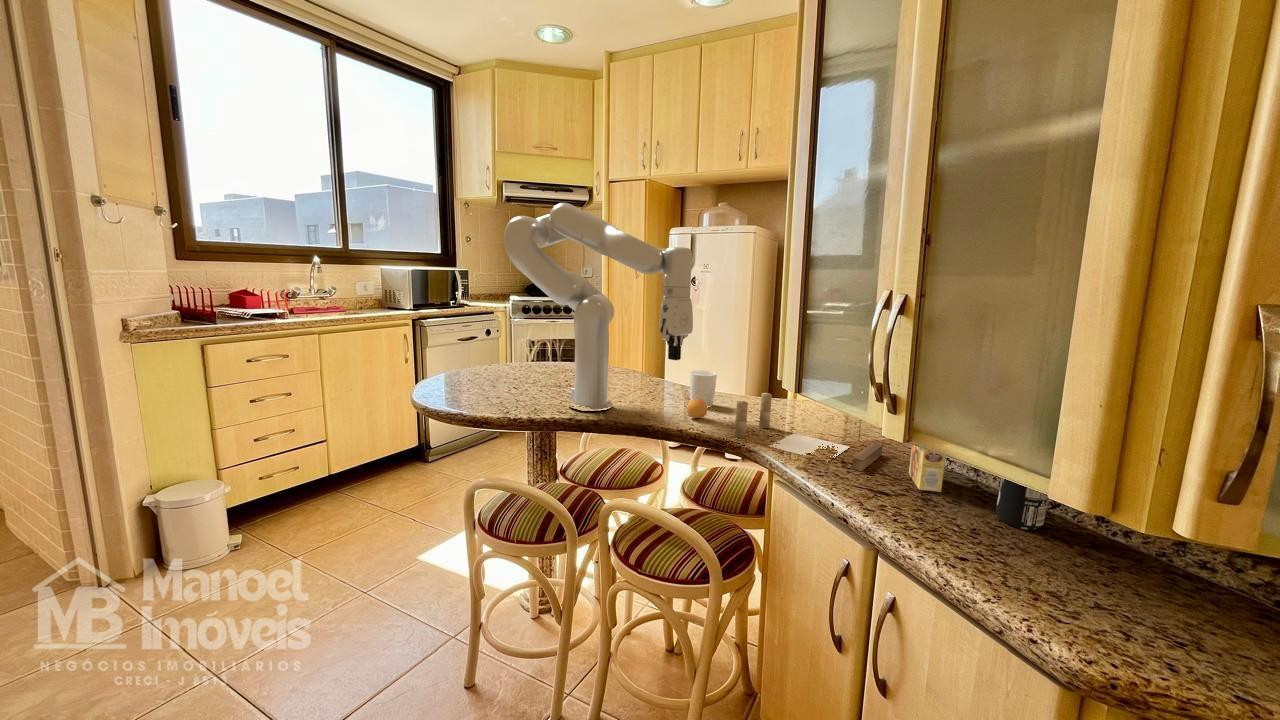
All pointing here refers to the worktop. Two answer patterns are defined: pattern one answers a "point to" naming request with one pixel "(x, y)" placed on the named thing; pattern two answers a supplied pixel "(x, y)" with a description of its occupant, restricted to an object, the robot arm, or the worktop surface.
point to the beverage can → (1020, 506)
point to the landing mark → (806, 445)
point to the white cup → (703, 386)
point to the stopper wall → (867, 456)
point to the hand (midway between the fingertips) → (674, 359)
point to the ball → (697, 408)
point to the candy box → (926, 469)
